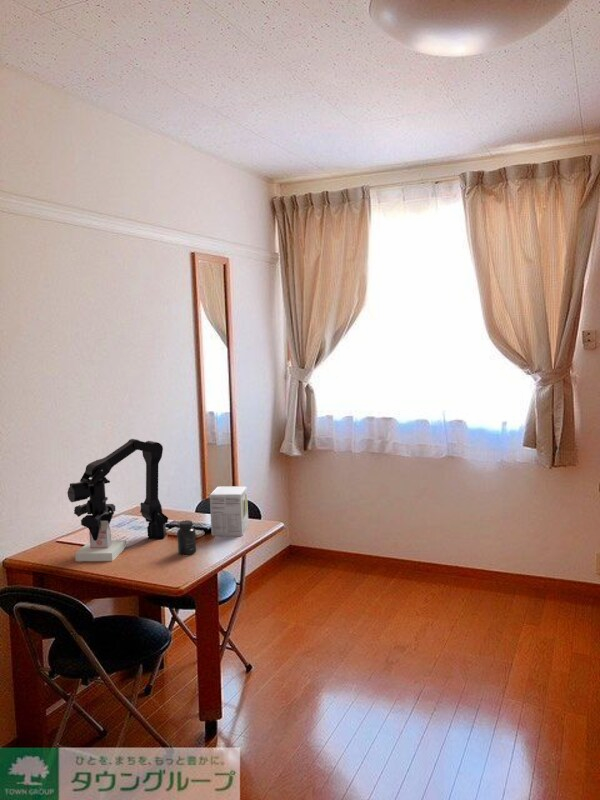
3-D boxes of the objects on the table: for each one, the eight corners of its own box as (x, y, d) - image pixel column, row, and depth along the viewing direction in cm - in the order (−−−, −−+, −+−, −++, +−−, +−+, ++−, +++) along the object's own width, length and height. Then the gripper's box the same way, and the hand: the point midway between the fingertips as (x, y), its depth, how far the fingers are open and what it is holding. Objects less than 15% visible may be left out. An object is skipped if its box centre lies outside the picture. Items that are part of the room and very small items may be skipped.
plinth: (125, 547, 236) (125, 540, 235) (112, 561, 222) (112, 553, 221) (91, 547, 237) (90, 540, 236) (75, 561, 223) (75, 553, 222)
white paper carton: (94, 544, 231) (92, 519, 230) (111, 544, 230) (109, 519, 229) (90, 548, 227) (88, 522, 226) (107, 548, 227) (106, 522, 226)
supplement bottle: (174, 552, 228) (173, 522, 227) (190, 548, 233) (189, 518, 231) (183, 557, 223) (182, 526, 222) (199, 552, 227) (198, 522, 226)
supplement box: (242, 536, 244) (240, 494, 243) (211, 536, 246) (209, 494, 244) (249, 525, 258) (247, 486, 256) (219, 525, 259) (217, 486, 257)
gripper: (87, 490, 236) (89, 528, 238) (65, 503, 218) (68, 545, 220) (114, 489, 236) (117, 528, 237) (95, 503, 217) (98, 544, 219)
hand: (100, 536), depth 228 cm, fingers open, 9 cm apart
